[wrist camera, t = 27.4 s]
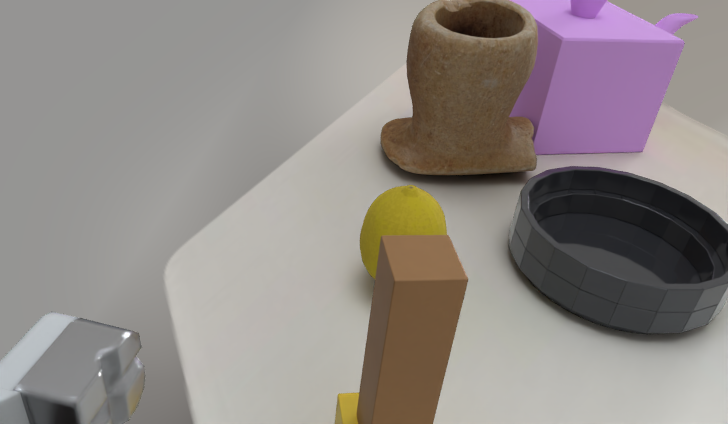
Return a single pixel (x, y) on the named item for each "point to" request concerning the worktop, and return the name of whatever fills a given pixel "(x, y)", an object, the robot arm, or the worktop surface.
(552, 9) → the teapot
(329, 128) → the worktop surface
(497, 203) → the worktop surface
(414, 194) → the lemon
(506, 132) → the stone cup
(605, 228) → the bowl
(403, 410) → the sponge wand
